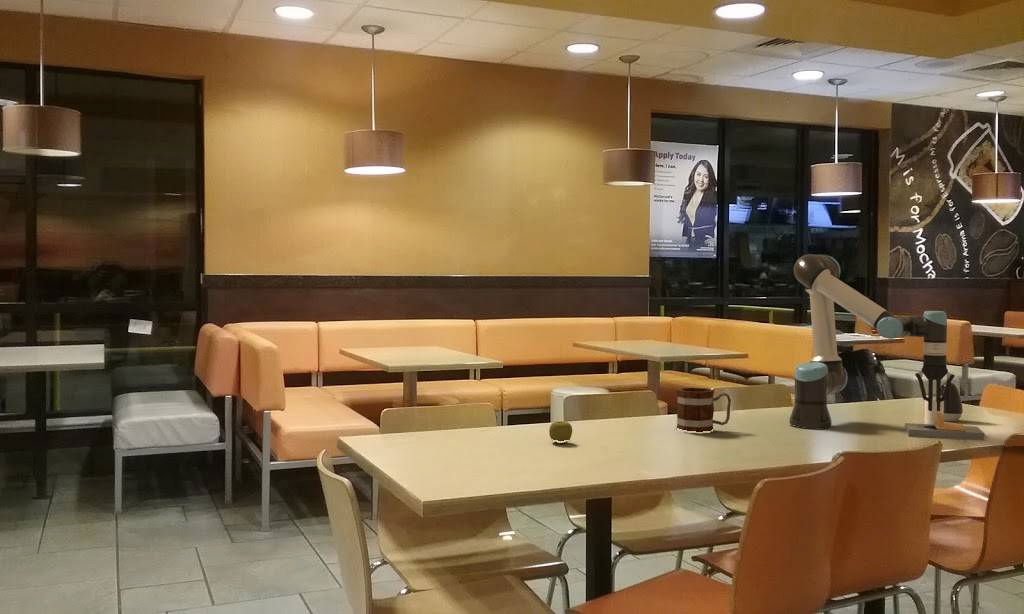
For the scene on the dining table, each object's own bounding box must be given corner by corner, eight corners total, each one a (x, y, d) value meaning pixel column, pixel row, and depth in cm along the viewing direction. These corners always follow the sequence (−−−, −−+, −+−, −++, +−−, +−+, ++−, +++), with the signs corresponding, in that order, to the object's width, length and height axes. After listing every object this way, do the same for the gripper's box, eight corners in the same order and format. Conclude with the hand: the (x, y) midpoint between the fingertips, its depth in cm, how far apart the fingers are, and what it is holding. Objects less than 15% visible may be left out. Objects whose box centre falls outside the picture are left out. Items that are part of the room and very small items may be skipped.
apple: (563, 446, 302) (563, 424, 302) (544, 443, 307) (544, 422, 307) (576, 443, 308) (577, 422, 308) (558, 440, 313) (558, 419, 313)
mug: (679, 434, 326) (679, 392, 325) (673, 427, 339) (673, 387, 339) (734, 434, 325) (735, 392, 325) (726, 427, 339) (727, 387, 338)
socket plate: (908, 436, 322) (908, 429, 322) (904, 429, 335) (904, 423, 335) (984, 440, 314) (984, 433, 314) (977, 433, 328) (977, 426, 327)
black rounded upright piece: (928, 420, 357) (929, 381, 356) (941, 417, 363) (942, 379, 363) (954, 423, 349) (955, 384, 348) (967, 421, 355) (968, 382, 355)
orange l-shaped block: (937, 429, 321) (937, 416, 321) (934, 425, 330) (934, 412, 329) (965, 430, 318) (966, 417, 318) (961, 426, 327) (962, 414, 327)
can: (939, 425, 345) (940, 393, 344) (946, 428, 339) (946, 396, 338) (921, 425, 346) (922, 393, 345) (927, 428, 339) (928, 395, 339)
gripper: (916, 354, 323) (915, 421, 324) (956, 355, 319) (955, 422, 320) (913, 353, 330) (913, 417, 331) (953, 353, 326) (952, 419, 327)
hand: (933, 420), depth 325 cm, fingers closed
